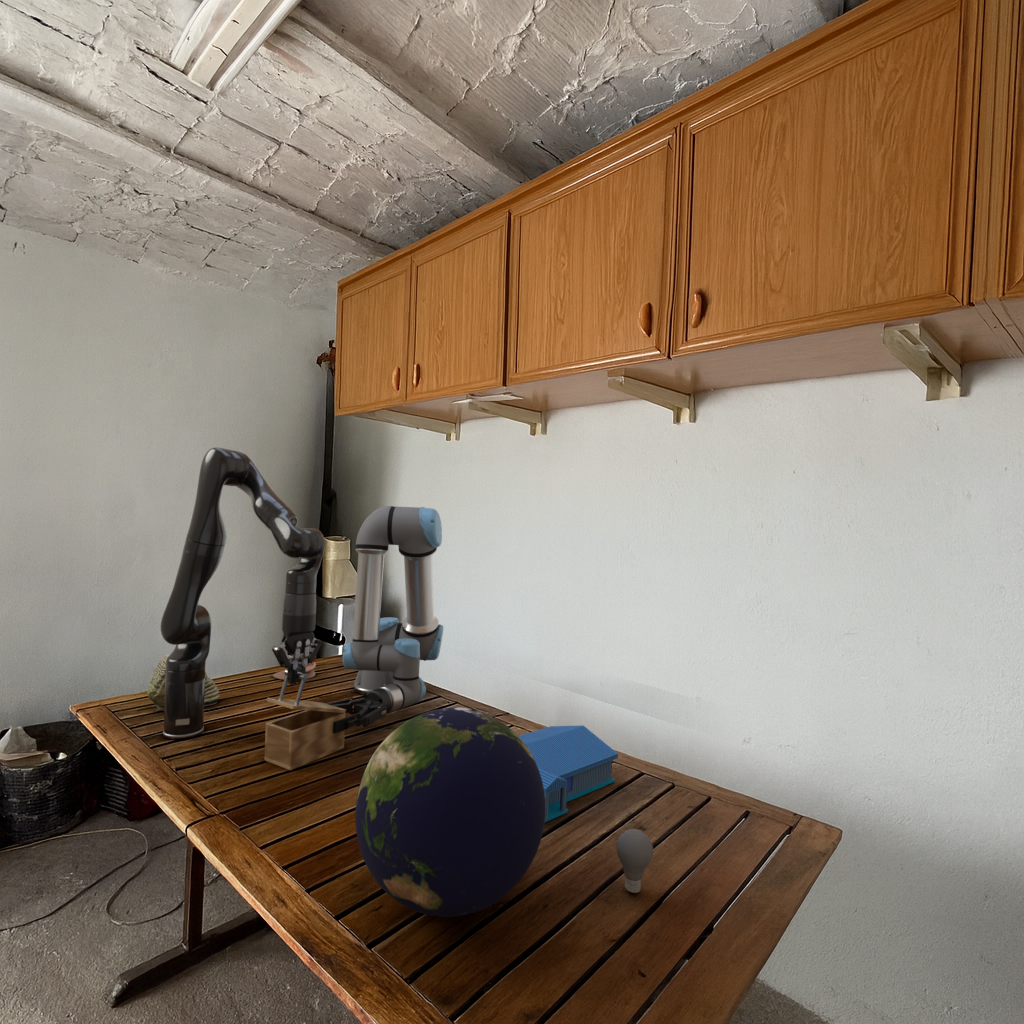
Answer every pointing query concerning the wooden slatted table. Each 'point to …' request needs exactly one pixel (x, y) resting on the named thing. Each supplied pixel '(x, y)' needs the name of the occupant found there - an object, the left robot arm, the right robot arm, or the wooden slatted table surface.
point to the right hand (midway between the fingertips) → (320, 723)
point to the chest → (302, 738)
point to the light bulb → (634, 857)
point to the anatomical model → (309, 671)
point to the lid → (300, 704)
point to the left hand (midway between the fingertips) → (296, 683)
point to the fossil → (158, 687)
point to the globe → (450, 812)
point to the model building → (569, 764)
